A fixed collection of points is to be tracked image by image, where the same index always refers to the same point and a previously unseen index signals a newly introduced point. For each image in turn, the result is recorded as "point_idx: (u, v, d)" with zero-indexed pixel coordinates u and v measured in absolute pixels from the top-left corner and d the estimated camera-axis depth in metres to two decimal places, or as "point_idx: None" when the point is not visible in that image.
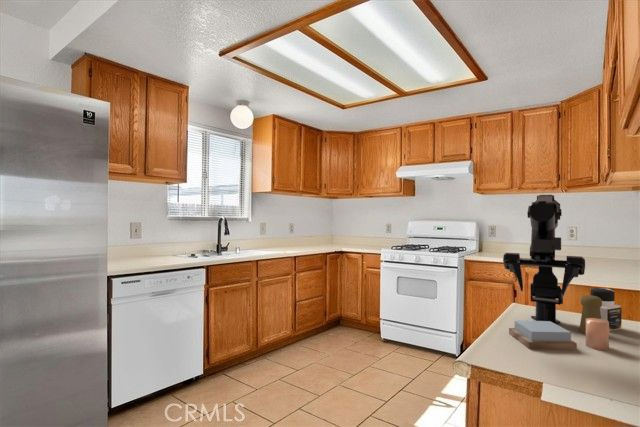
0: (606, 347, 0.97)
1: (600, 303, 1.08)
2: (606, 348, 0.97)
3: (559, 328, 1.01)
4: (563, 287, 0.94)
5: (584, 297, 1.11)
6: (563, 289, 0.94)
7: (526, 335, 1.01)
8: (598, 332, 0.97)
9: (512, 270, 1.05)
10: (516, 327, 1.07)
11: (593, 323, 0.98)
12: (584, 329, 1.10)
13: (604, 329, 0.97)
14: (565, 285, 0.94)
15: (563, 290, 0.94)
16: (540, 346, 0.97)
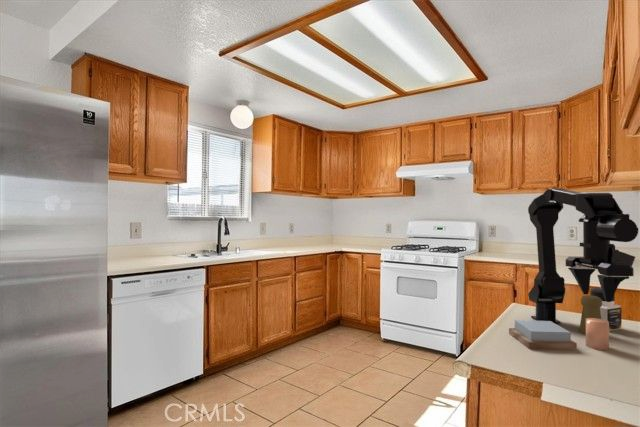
0: (606, 347, 0.97)
1: (600, 303, 1.08)
2: (606, 348, 0.97)
3: (559, 328, 1.01)
4: None
5: (584, 297, 1.11)
6: None
7: (526, 335, 1.01)
8: (598, 332, 0.97)
9: None
10: (516, 326, 1.07)
11: (593, 323, 0.98)
12: (584, 329, 1.10)
13: (604, 329, 0.97)
14: None
15: None
16: (540, 346, 0.97)
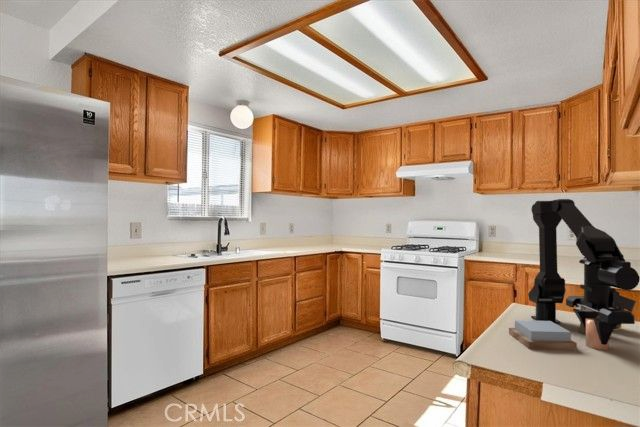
0: (606, 347, 0.97)
1: None
2: (606, 348, 0.97)
3: (559, 328, 1.01)
4: None
5: None
6: None
7: (526, 335, 1.01)
8: None
9: None
10: (516, 327, 1.07)
11: (593, 323, 0.98)
12: None
13: None
14: None
15: None
16: (540, 346, 0.97)
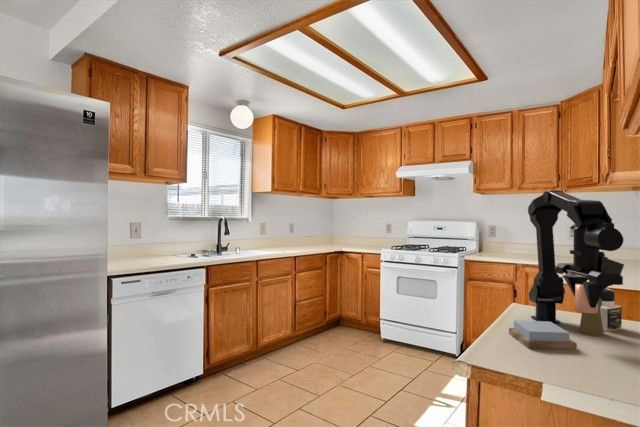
0: (595, 311, 0.98)
1: (600, 303, 1.08)
2: (595, 311, 0.98)
3: (558, 329, 1.00)
4: None
5: None
6: None
7: (524, 335, 1.01)
8: None
9: None
10: (515, 327, 1.07)
11: (582, 287, 0.98)
12: (584, 329, 1.10)
13: None
14: None
15: None
16: (540, 346, 0.97)
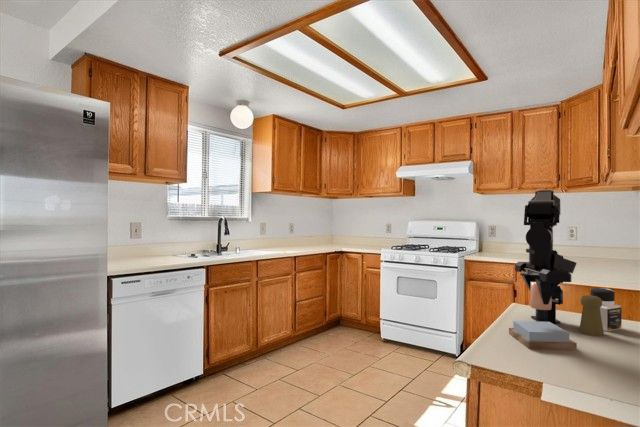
0: (548, 307, 1.01)
1: (600, 303, 1.08)
2: (548, 308, 1.01)
3: (558, 329, 1.00)
4: None
5: (584, 297, 1.11)
6: None
7: (524, 335, 1.01)
8: None
9: (545, 282, 0.98)
10: (515, 327, 1.07)
11: (536, 284, 1.02)
12: (584, 329, 1.10)
13: None
14: None
15: None
16: (540, 346, 0.97)
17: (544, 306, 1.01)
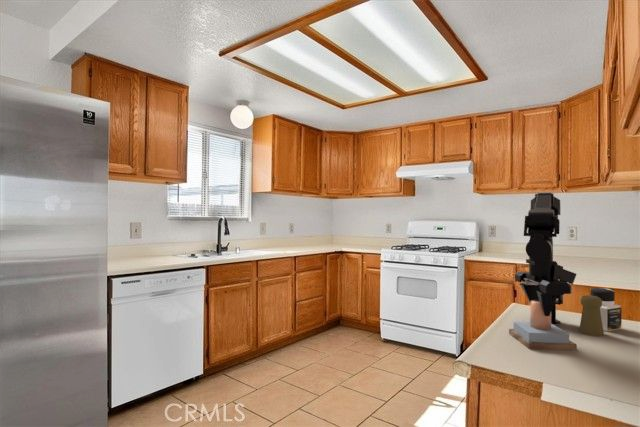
0: (548, 327, 1.01)
1: (600, 303, 1.08)
2: (548, 328, 1.01)
3: (558, 330, 1.00)
4: None
5: (584, 297, 1.11)
6: None
7: (524, 336, 1.01)
8: (540, 312, 1.01)
9: None
10: (515, 328, 1.07)
11: (536, 304, 1.02)
12: (584, 329, 1.10)
13: None
14: None
15: None
16: (540, 347, 0.97)
17: (544, 326, 1.01)
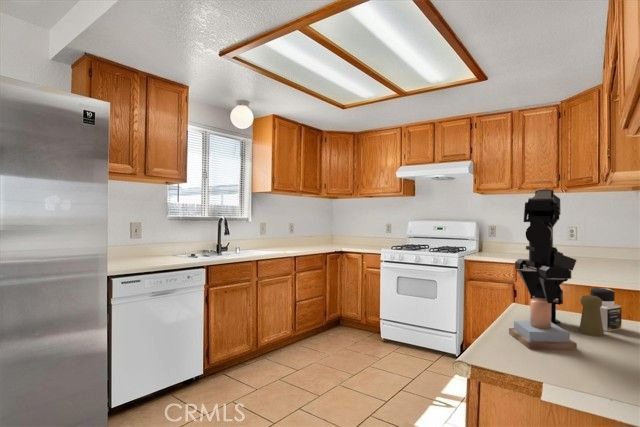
0: (549, 326, 1.01)
1: (600, 303, 1.08)
2: (548, 327, 1.01)
3: (558, 329, 1.00)
4: None
5: (584, 297, 1.11)
6: None
7: (524, 335, 1.01)
8: (541, 312, 1.01)
9: (549, 280, 0.96)
10: (515, 327, 1.07)
11: (536, 304, 1.01)
12: (584, 329, 1.10)
13: (546, 309, 1.00)
14: None
15: None
16: (540, 346, 0.97)
17: (544, 325, 1.01)
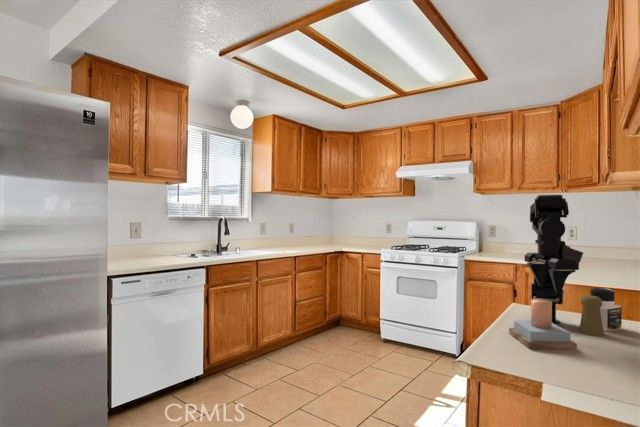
0: (549, 326, 1.01)
1: (600, 303, 1.08)
2: (549, 327, 1.01)
3: (559, 329, 1.00)
4: None
5: (584, 297, 1.11)
6: None
7: (525, 335, 1.01)
8: (542, 312, 1.01)
9: (558, 271, 1.02)
10: (516, 327, 1.07)
11: (537, 303, 1.02)
12: (584, 329, 1.10)
13: (547, 309, 1.01)
14: None
15: None
16: (540, 346, 0.97)
17: (545, 325, 1.01)
